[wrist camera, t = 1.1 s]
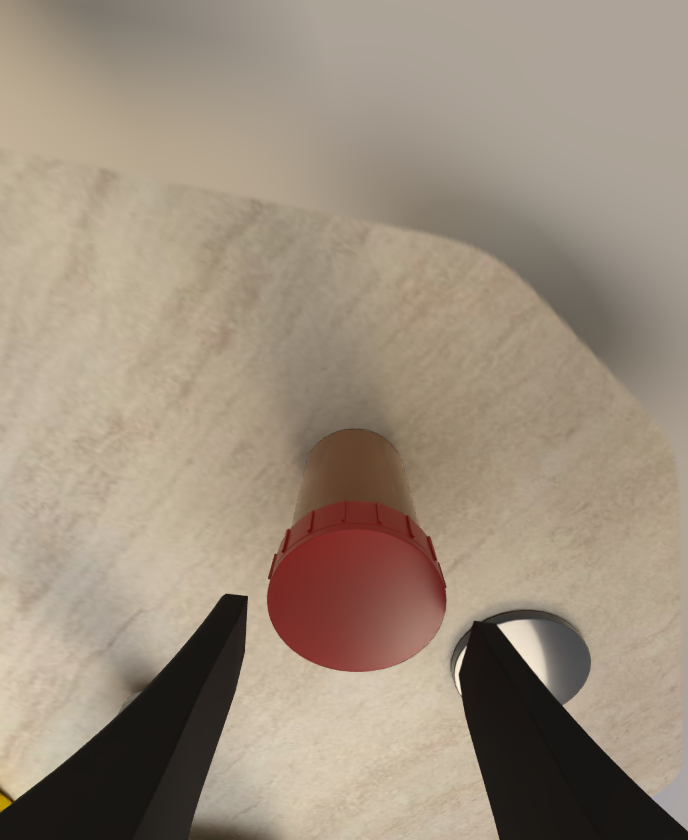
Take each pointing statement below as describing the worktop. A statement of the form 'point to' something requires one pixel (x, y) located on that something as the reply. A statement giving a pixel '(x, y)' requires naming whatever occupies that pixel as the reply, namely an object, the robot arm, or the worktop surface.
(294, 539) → the lid
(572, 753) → the robot arm
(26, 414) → the worktop surface
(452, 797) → the worktop surface
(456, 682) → the coaster
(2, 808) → the element tile
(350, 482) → the jar
